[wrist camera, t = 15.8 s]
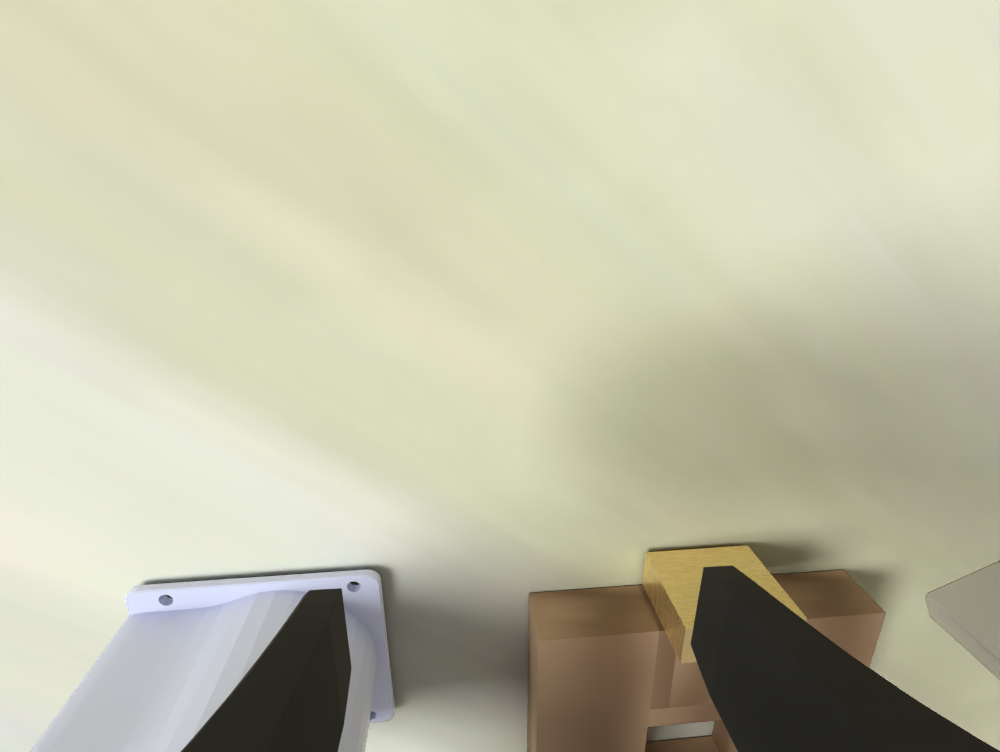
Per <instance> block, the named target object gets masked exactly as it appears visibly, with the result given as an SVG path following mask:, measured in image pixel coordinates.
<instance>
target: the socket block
mask: <svg viewBox="0 0 1000 752" xmlns="http://www.w3.org/2000/svg"><path fill="white" fill-rule="evenodd" d="M772 576H773V577H774V578H775V580H776V581H777V582H778V583H779V585H780V586H781V587H782V588H783V589H784V591H785V592H786V593H787V594H788V596H789V597H790V598H791V599H792V601H793V602H794V603H795V604H796V605H797V607H798V608H799V609H800V610H801V612H802V613H803V614H804V615H805V616H806V618H807V621H806V622H807V623H808V624H810V625H811V626H812V627H814V628H815V629H816V630H818V631H819V632H820V633H822V634H823V635H824V636H826V637H827V638H828V639H830V640H831V641H832V642H834V643H835V644H836V645H838V646H839V647H841V648H842V649H843V650H845V651H846V652H847V653H849V654H850V655H852V656H853V657H854V658H856V659H857V660H858V661H860V662H861V663H863V664H864V665H865V666H867V667H868V668H869V666H870V663H871V659H872V656H873V653H874V650H875V646H876V643H877V640H878V637H879V633H880V630H881V627H882V624H883V620H884V617H885V614H886V612H885V611H884V610H883V609H882V608H881V607H880V606H879V605H878V604H877V603H876V602H875V601H874V600H873V599H872V598H871V597H870V596H869V595H868V594H867V593H866V592H865V591H864V590H863V589H862V588H861V587H860V586H859V585H858V584H857V583H856V582H855V581H854V580H853V579H852V578H851V577H850V576H849V575H848V574H847V573H846V572H845V571H844V570H833V571H820V572H806V573H793V574H780V575H772ZM705 721H715V723H714V728H713V734H712V736H705V737H695V738H685V739H675V740H665V741H655V742H646V738H647V729H648V727H654V726H664V725H674V724H685V723H695V722H705ZM527 752H738V751H737V749H736V747H735V745H734V743H733V741H732V739H731V737H730V735H729V733H728V731H727V729H726V727H725V725H724V723H723V721H722V719H721V717H720V715H719V713H718V711H717V709H716V707H715V705H714V703H713V701H712V699H711V697H710V695H709V692H708V690H707V687H706V685H705V682H704V680H703V677H702V674H701V672H700V669H699V666H698V663H697V662H692V663H680V661H679V659H678V657H677V655H676V653H675V651H674V649H673V647H672V645H671V642H670V640H669V638H668V636H667V634H666V632H665V630H664V628H663V626H662V624H661V622H660V620H659V617H658V615H657V613H656V611H655V609H654V607H653V605H652V603H651V601H650V599H649V597H648V594H647V592H646V590H645V588H644V586H643V585H632V586H618V587H605V588H592V589H578V590H565V591H551V592H538V593H529V647H528V732H527Z"/></svg>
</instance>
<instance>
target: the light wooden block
mask: <svg viewBox="0 0 1000 752" xmlns="http://www.w3.org/2000/svg"><path fill="white" fill-rule="evenodd" d="M731 565H733V566H734V567H735V568H737V569H738V570H740V571H741V572H742V573H744V574H745V575H746V576H748V577H749V578H750V579H752V580H753V581H754V582H756V583H757V584H758V585H759V586H761V587H762V588H763V589H765V590H766V591H767V592H768V593H770V594H771V595H772V596H774V597H775V598H776V599H777V600H779V601H780V602H781V603H783V604H784V605H785V606H786V607H788V608H789V609H790V610H792V611H793V612H794V613H795V614H797V615H798V616H799V617H801V618H802V619H803V620H805V621H807V618H806V616H805V615H804V614H803V613H802V612H801V610H800V609H799V608H798V607H797V605H796V604H795V603H794V602H793V601H792V599H791V598H790V597H789V596H788V594H787V593H786V592H785V591H784V589H783V588H782V587H781V586H780V585H779V583H778V582H777V581H776V580H775V578H774V577H773V576H772V575H771V574H770V572H769V571H768V570H767V569H766V567H765V566H764V565H763V564H762V562H761V561H760V560H759V559H758V558H757V556H756V555H755V554H754V553H753V551H752V550H751V549H750V548H749V547H748V545H745V546H731V547H717V548H702V549H688V550H673V551H659V552H645V562H644V572H643V581H642V584H643V586H644V588H645V590H646V592H647V594H648V597H649V599H650V601H651V603H652V605H653V607H654V609H655V611H656V613H657V615H658V617H659V620H660V622H661V624H662V626H663V628H664V630H665V632H666V634H667V636H668V638H669V640H670V642H671V645H672V647H673V649H674V651H675V653H676V655H677V657H678V659H679V661H680V663H692V662H697V661H696V658H695V655H694V652H693V650H692V647H691V638H692V632H693V627H694V621H695V615H696V609H697V603H698V597H699V591H700V585H701V579H702V574H703V568H704V567H714V566H731Z"/></svg>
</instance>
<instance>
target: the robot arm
mask: <svg viewBox="0 0 1000 752" xmlns="http://www.w3.org/2000/svg"><path fill="white" fill-rule="evenodd" d="M353 581H354V582H358V583H359V584H358V585H352V584H351V583H350V582H353ZM165 595H169V596H171V597H172V598H168V597H167V596H165ZM125 604H126V607H127V610H128V613H129V616H128V618H127V619H126V620H125V622H124V623H123V624H122V626H121V627H120V629H119V630H118V631H117V633H116V634H115V635H114V637H113V638H112V640H111V641H110V642H109V644H108V645H107V646H106V648H105V649H104V651H103V652H102V653H101V655H100V656H99V657H98V659H97V660H96V662H95V663H94V664H93V666H92V667H91V668H90V670H89V671H88V673H87V674H86V675H85V677H84V678H83V679H82V681H81V682H80V684H79V685H78V686H77V688H76V689H75V690H74V692H73V693H72V695H71V696H70V697H69V699H68V700H67V701H66V703H65V704H64V706H63V707H62V708H61V710H60V711H59V712H58V714H57V715H56V717H55V718H54V719H53V721H52V722H51V723H50V725H49V726H48V728H47V729H46V730H45V732H44V733H43V734H42V736H41V737H40V739H39V740H38V741H37V743H36V744H35V745H34V747H33V748H32V750H31V751H30V752H365V748H366V741H367V734H368V727H369V723H376V722H385V721H388V720H389V719H391V718H392V717H393V715H394V707H395V705H394V696H393V687H392V678H391V668H390V659H389V650H388V640H387V631H386V622H385V613H384V603H383V594H382V585H381V578H380V575H379V574H378V573H377V572H376V571H373V570H367V569H366V570H352V571H337V572H323V573H309V574H294V575H280V576H265V577H251V578H236V579H222V580H207V581H193V582H178V583H164V584H149V585H138V586H135V587H133V588H132V589H131V590H130V591H129V592H128V594H127V595H126V597H125ZM691 647H692V650H693V652H694V655H695V658H696V661H697V663H698V666H699V669H700V672H701V674H702V677H703V680H704V682H705V685H706V687H707V690H708V692H709V695H710V697H711V699H712V701H713V703H714V705H715V707H716V709H717V711H718V713H719V715H720V717H721V719H722V721H723V723H724V725H725V727H726V729H727V731H728V733H729V735H730V737H731V739H732V741H733V743H734V745H735V747H736V749H737V751H738V752H1000V751H999V750H997V749H995V748H994V747H992V746H990V745H988V744H987V743H985V742H983V741H982V740H980V739H978V738H976V737H975V736H973V735H972V734H970V733H968V732H967V731H965V730H963V729H962V728H960V727H959V726H957V725H955V724H954V723H952V722H950V721H949V720H947V719H946V718H944V717H942V716H941V715H939V714H938V713H936V712H934V711H933V710H931V709H929V708H928V707H926V706H925V705H923V704H922V703H920V702H919V701H917V700H915V699H914V698H912V697H911V696H909V695H908V694H906V693H905V692H903V691H902V690H900V689H899V688H897V687H896V686H895V685H893V684H892V683H890V682H889V681H887V680H886V679H884V678H883V677H881V676H880V675H879V674H877V673H876V672H874V671H873V670H871V669H870V668H868V667H867V666H865V665H864V664H863V663H861V662H860V661H858V660H857V659H856V658H854V657H853V656H852V655H850V654H849V653H847V652H846V651H845V650H843V649H842V648H841V647H839V646H838V645H836V644H835V643H834V642H832V641H831V640H830V639H828V638H827V637H826V636H824V635H823V634H822V633H820V632H819V631H818V630H816V629H815V628H814V627H812V626H811V625H810V624H808V623H807V622H806V621H805V620H803V619H802V618H801V617H799V616H798V615H797V614H795V613H794V612H793V611H792V610H790V609H789V608H788V607H786V606H785V605H784V604H783V603H781V602H780V601H779V600H777V599H776V598H775V597H774V596H772V595H771V594H770V593H768V592H767V591H766V590H765V589H763V588H762V587H761V586H759V585H758V584H757V583H756V582H754V581H753V580H752V579H750V578H749V577H748V576H746V575H745V574H744V573H742V572H741V571H740V570H738V569H737V568H735V567H734V566H733V565H731V566H714V567H704V568H703V574H702V579H701V585H700V591H699V597H698V603H697V609H696V615H695V621H694V627H693V632H692V638H691Z"/></svg>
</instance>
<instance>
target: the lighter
mask: <svg viewBox="0 0 1000 752" xmlns="http://www.w3.org/2000/svg"><path fill="white" fill-rule="evenodd" d="M925 598H926V602H927V605H928V609H929V613H930V617H931V618H932V619H933V620H934V621H935V622H937V623H938V624H939V625H940V626H941V627H942V628H943V629H944V630H945V631H946V632H948V633H949V634H950V635H951V636H952V637H953V638H954V639H955V640H956V641H957V642H958V643H960V644H961V645H962V646H963V647H964V648H965V649H966V650H967V651H968V652H969V653H971V654H972V655H973V656H974V657H975V658H976V659H977V660H978V661H979V662H980V663H982V664H983V665H984V666H985V667H986V668H987V669H988V670H989V671H990V672H991V673H992V674H994V675H995V676H996V677H997V678H998V679H999V680H1000V561H999V562H997V563H995V564H992V565H990V566H988V567H986V568H983V569H981V570H979V571H977V572H975V573H972V574H970V575H968V576H966V577H963V578H961V579H959V580H957V581H954V582H952V583H950V584H948V585H946V586H943V587H941V588H939V589H937V590H934V591H932V592H930V593H928V594H927V596H926V597H925Z"/></svg>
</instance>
